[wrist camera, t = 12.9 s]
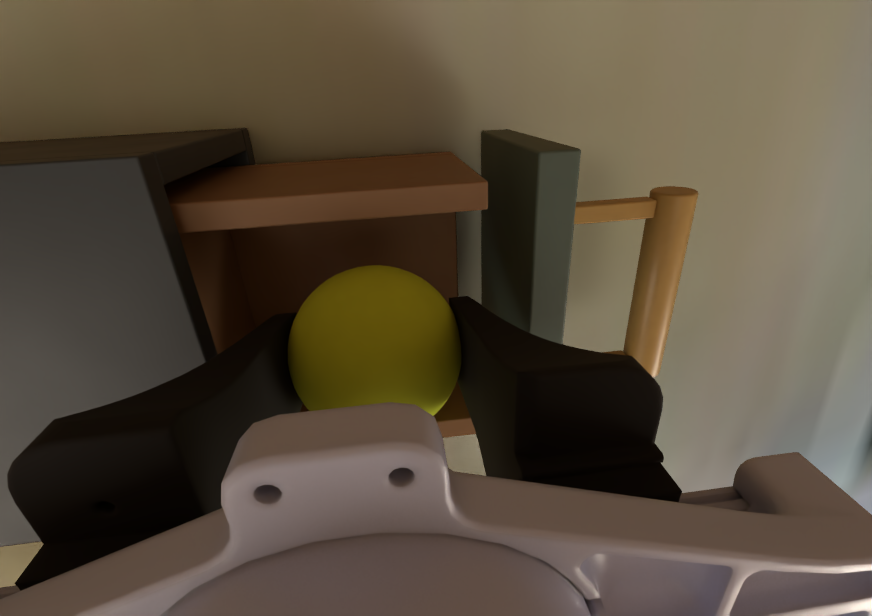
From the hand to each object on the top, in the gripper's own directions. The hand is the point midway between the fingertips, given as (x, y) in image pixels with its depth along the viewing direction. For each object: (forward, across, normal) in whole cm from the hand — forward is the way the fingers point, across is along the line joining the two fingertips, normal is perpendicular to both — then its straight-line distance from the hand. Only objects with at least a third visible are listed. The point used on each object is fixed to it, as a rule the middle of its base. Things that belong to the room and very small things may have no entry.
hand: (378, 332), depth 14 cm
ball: (+1, 0, 0) cm, 1 cm away
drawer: (+7, -2, 0) cm, 7 cm away
